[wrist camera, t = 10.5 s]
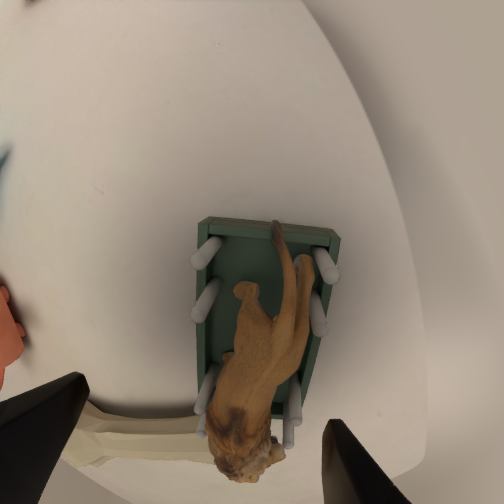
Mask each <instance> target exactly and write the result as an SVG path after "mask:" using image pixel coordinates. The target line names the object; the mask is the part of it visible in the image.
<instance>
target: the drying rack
mask: <svg viewBox="0 0 504 504" xmlns="http://www.w3.org/2000/svg"><path fill="white" fill-rule="evenodd" d="M280 224H281V226H282V229H283V231H284V241H285V245H286V247H287V249H288V251H289V254H290V256H291V259H292V262H293V263H294V260H295V258H296V257H297V256H298V255H301V254H306V255H309V256H311V257H312V259H313V270H314V276H315V278H314V282H313V285H312V290H311V295H310V302H309V335H308V339H307V343H306V347H305V350H304V353H303V356H302V359H301V362H300V365H299V367H298V369H297V370H296V371H295V372H294V373H293V374H292V375H291V376H290V377H289V378H288V379H287V380H286V381H284V382H283V383H281V384H280V385H278V386H277V389H276V392H275V395H274V397H273V400H272V405H271V407H270V410H271V419H283V443H282V444H283V447H284V448H285V449H291V448H292V447H293V446H294V426H299V425H300V424H301V423H302V407H303V404H304V400H305V397H306V393H307V390H308V386H309V383H310V379H311V376H312V372H313V368H314V365H315V361H316V357H317V353H318V349H319V345H320V341H321V337H323V336H325V335H326V334H327V333H328V325H327V321H326V315H327V310H328V305H329V301H330V296H331V291H332V286H333V284H335V283H337V282H338V281H339V278H340V273H339V271H338V269H337V267H336V264H337V258H338V253H339V246H340V240H341V238H340V237H339V236H338V235H337V234H336V233H335V231H334V230H333V229H326V228H318V227H309V226H300V225H291V224H282V223H280ZM190 264H191V266H192V268H194V269H195V270H197V288H196V304H195V305H194V307H193V309H192V310H191V312H190V318H191V320H192V321H193V322H194V323H196V336H197V378H198V397H197V400H196V403H195V406H194V411H195V413H196V414H198V415H201V418H200V421H199V424H198V427H197V430H196V436H197V437H198V438H201V439H203V438H205V437H206V436H207V432H206V430H205V423H206V411H207V408H208V406H209V404H210V403H211V401H212V399H213V397H214V393H215V390H216V384H217V380H218V378H219V376H220V373H221V370H222V368H223V366H224V364H225V362H224V360H223V359H222V357H223V354H224V353H227V352H234V353H235V351H234V338H235V334H236V330H237V317H238V313H239V310H240V308H241V305H242V302H243V300H240V299H238V298H236V297H235V294H234V291H233V289H234V287H235V285H236V284H237V283H239V282H241V281H248V282H252V283H256V284H258V285H259V291H260V292H259V296H258V301H259V303H260V304H261V306H262V307H263V308H264V309H265V310H266V311H267V313H268V314H269V315H270V317H271V318H272V319H274V317H275V316H278V315H279V314H280V310H281V305H282V300H283V293H284V278H283V267H282V263H281V259H280V256H279V254H278V252H277V249H276V248H275V246H274V244H273V243H272V231H271V222H263V221H253V220H243V219H232V218H221V217H210V216H209V217H207V218H206V219H204V220H203V221H201V222H200V223H198V245H197V251H196V252H195V253H194V254H193V255H192V256H191V258H190ZM297 285H298V275H297V274H296V288H297Z"/></svg>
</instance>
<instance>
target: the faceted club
mask: <svg viewBox="0 0 504 504" xmlns="http://www.w3.org/2000/svg"><path fill="white" fill-rule="evenodd" d="M200 418H201V415H193V416H188V417H179V418H161V419H136V418H130V417H124V416H118V415H112V414H107V413H103V412H101V411H100V410H99V409H97V408H96V407H95V406H94V405H92V404H91V403H90V402H89V401H86V403H85V406H84V408H83V411H82V413H81V415H80V418H79V420H78V423H77V425H76V427H75V428H74V430H73V432H72V434H71V436H70V438H69V440H68V442H67V444H66V445H65V447H64V449H63V451H62V453H61V455H62V456H63V457H64V458H65V459H67V460H68V461H69V462H70V463H72V464H73V465H74V466H75V467H79V466H86V465H93V466H96V467H99V466H100V465H102V464H104V463H105V462H106V461H108V460H109V459H110V458H115V457H121V458H131V459H146V460H189V461H195V462H201V463H207V464H213V465H216V464H215V463H214V457H213V455H212V454H211V453H210V450H209V447H208V445H209V443H208V434H207V436H206V437H205V438H203V439H201V438H198V437H197V436H196V430H197V427H198V424H199V421H200Z"/></svg>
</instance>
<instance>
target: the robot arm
mask: <svg viewBox="0 0 504 504" xmlns="http://www.w3.org/2000/svg"><path fill="white" fill-rule="evenodd" d="M89 393H90V389H89V386H88V383H87V380H86V378H85V376H84V374H81V373H79V372H72V373H70V374H68V375H65V376H63V377H61V378H58V379H56V380H54V381H51V382H49V383H46V384H44V385H42V386H39V387H37V388H34V389H32V390H29V391H27V392H25V393H22V394H20V395H17V396H15V397H12V398H10V399H7V400H4V401H2V402H0V504H38V502H39V500H40V497H41V494H42V492H43V490H44V488H45V486H46V483H47V482H48V479H49V477H50V475H51V473H52V471H53V469H54V467H55V465H56V463H57V461H58V459H59V457H60V455H61V453H62V451H63V449H64V447H65V445H66V444H67V442H68V440H69V438H70V436H71V434H72V432H73V430H74V428H75V427H76V425H77V423H78V420H79V418H80V415H81V413H82V411H83V408H84V406H85V403H86V401H87V399H88V396H89ZM322 484H323V495H324V504H412V503H411V502H410V501H409V500H407V498H406V497H405V496H404V495H403V494H402V493H401V492H400V491H399V489H398V488H397V487H396V486H395V485H394V484H393V482H392V481H391V480H390V479H389V478H388V476H387V475H386V474H385V473H384V472H383V470H382V469H381V468H380V467H379V465H378V464H377V463H376V462H375V461H374V459H373V458H372V457H371V456H370V454H369V453H368V452H367V451H366V450H365V448H364V447H363V446H362V445H361V443H360V442H359V441H358V440H357V438H356V437H355V436H354V435H353V433H352V432H351V431H350V430H349V428H348V427H347V426H346V424H345V423H344V422H343V421H342V420H341V419H330V420H329V421H328V423H327V425H326V427H325V430H324V432H323V437H322ZM393 485H394V486H393Z"/></svg>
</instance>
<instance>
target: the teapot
mask: <svg viewBox="0 0 504 504" xmlns="http://www.w3.org/2000/svg"><path fill="white" fill-rule="evenodd" d="M8 301H9V293H8V291H7V289H6V287H5V286H3V285H2V286H1V287H0V391H1V388H2V386H3V381H4V372H5V367H6V366H8V365H10V364H11V363H13V362H14V361H15V360H17V359H18V358H19V357H20V355H21V354H22V352H23V349H24V345H23V342H22V339H21V337H24V336H25V332H24V330H23V328H22V326H21V325H20V324H19V323H15V322H14V319H13V317H12V314H11V312H10V310H9V308H8V305H7V303H6V302H8Z"/></svg>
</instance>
